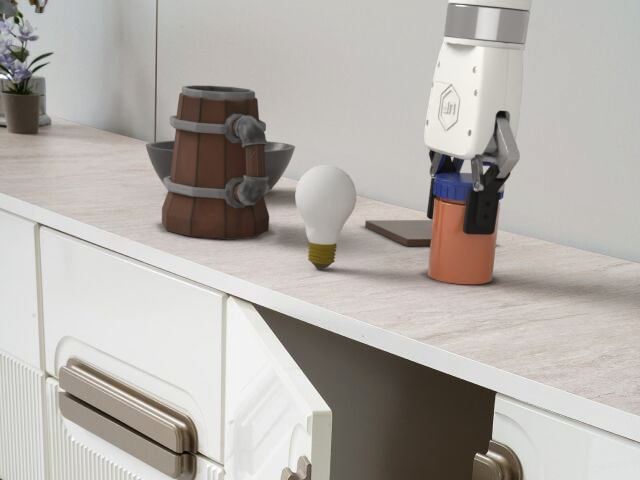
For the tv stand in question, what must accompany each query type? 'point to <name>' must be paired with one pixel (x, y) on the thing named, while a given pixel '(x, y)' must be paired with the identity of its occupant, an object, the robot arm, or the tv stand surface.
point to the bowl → (274, 159)
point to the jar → (459, 246)
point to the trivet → (403, 230)
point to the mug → (217, 165)
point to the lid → (454, 186)
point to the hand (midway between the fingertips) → (459, 224)
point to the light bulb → (324, 210)
